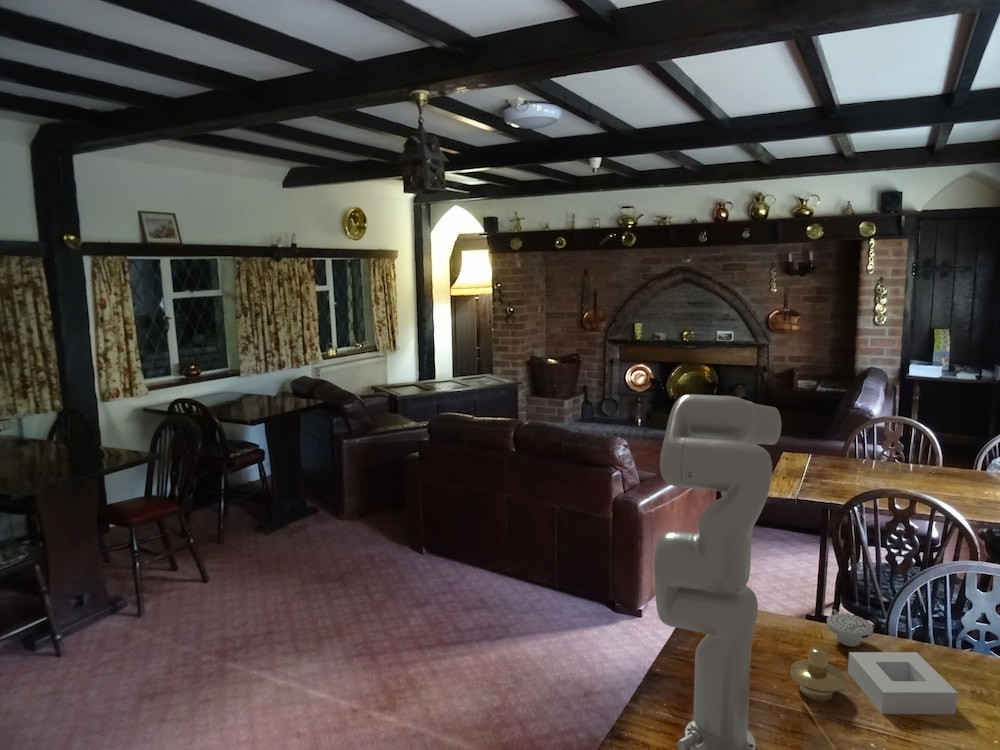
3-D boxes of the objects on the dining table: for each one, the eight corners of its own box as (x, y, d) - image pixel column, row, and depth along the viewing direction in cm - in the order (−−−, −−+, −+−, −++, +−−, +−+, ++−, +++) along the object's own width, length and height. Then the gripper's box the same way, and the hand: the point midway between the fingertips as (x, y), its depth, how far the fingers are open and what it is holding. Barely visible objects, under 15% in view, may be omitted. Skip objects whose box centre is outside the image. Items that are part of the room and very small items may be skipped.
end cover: (800, 713, 136) (803, 664, 134) (781, 683, 146) (784, 637, 144) (852, 714, 136) (855, 664, 134) (829, 683, 146) (832, 637, 144)
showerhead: (849, 605, 164) (883, 626, 154) (848, 634, 165) (881, 656, 155) (816, 611, 161) (848, 632, 152) (814, 640, 162) (846, 663, 153)
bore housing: (881, 720, 134) (883, 692, 133) (847, 678, 147) (849, 652, 146) (955, 721, 133) (957, 692, 132) (914, 678, 147) (916, 652, 146)
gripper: (767, 466, 145) (764, 543, 148) (742, 445, 163) (739, 515, 165) (731, 466, 146) (729, 543, 148) (709, 445, 163) (707, 515, 165)
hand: (734, 528), depth 157 cm, fingers open, 9 cm apart
